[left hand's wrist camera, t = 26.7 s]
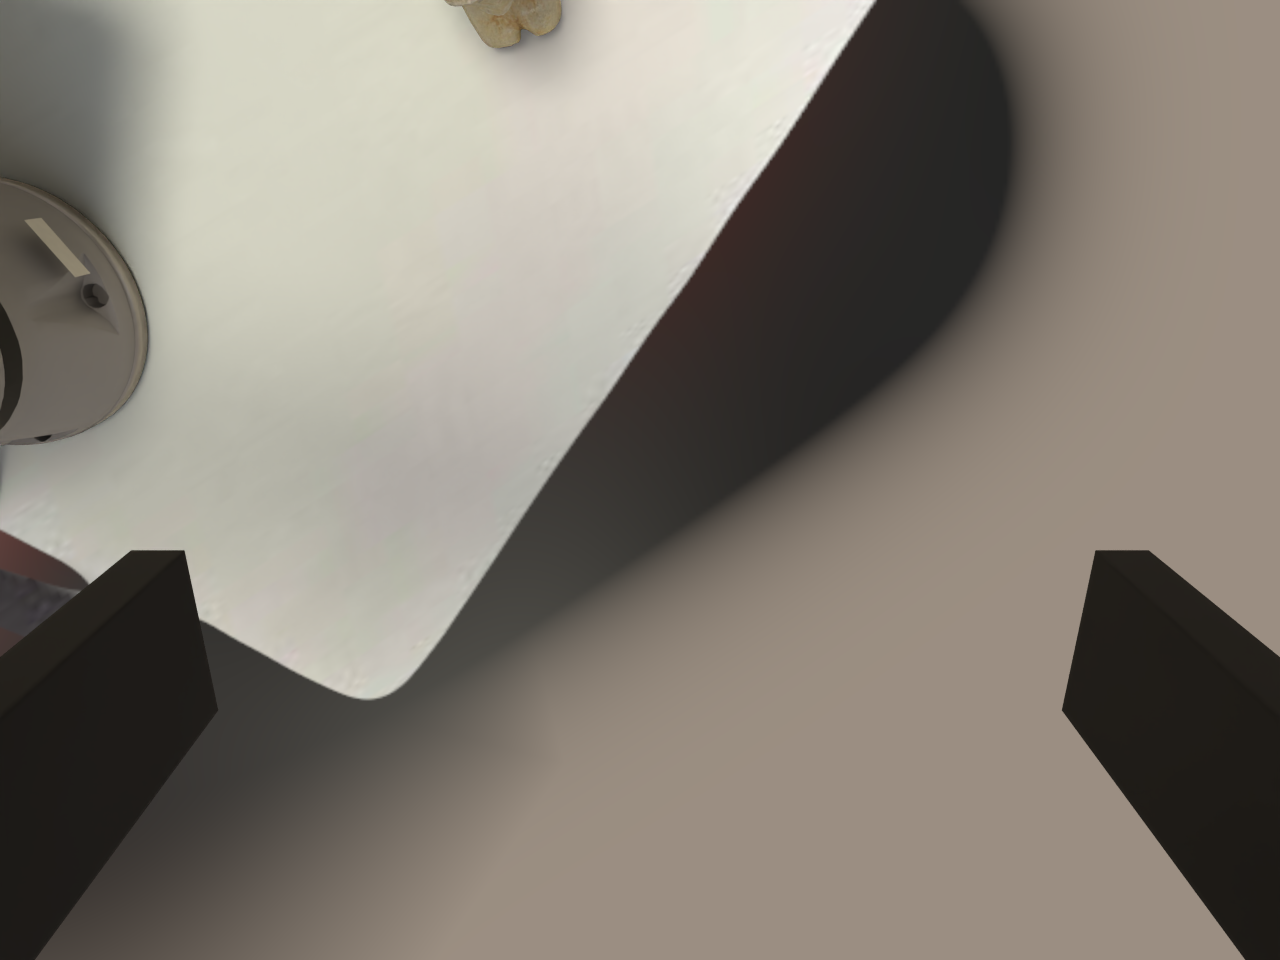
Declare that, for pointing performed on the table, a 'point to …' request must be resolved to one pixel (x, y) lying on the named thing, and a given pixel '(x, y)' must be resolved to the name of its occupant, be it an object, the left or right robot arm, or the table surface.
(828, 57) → the table surface
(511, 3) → the sculpture
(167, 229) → the table surface
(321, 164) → the table surface
